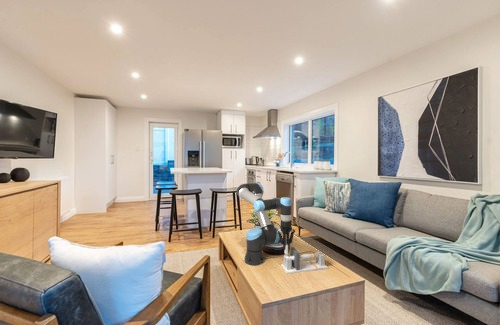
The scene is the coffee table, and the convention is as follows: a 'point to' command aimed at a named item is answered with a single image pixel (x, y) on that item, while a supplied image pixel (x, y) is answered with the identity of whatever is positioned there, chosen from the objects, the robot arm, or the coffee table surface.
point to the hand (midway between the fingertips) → (286, 253)
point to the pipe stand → (305, 263)
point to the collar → (295, 257)
